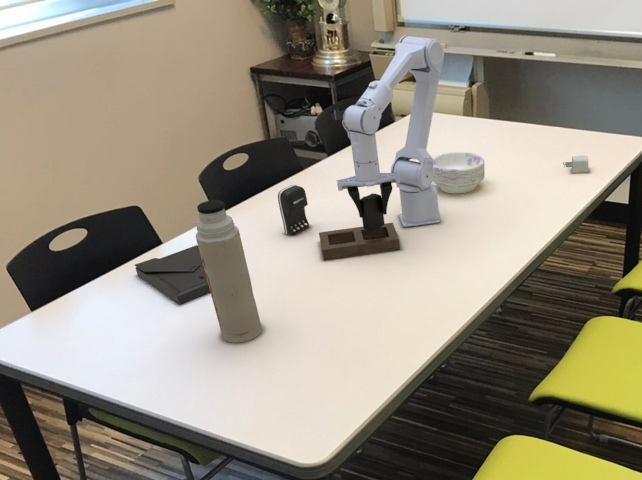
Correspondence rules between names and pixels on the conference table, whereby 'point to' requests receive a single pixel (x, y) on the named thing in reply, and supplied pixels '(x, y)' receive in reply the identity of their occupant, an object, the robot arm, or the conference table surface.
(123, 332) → the conference table surface
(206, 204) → the thermos bottle
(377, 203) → the ink cartridge
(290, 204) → the battery charger
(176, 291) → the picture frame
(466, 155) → the paper bowls
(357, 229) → the two-well brown tray
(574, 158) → the usb wall charger
